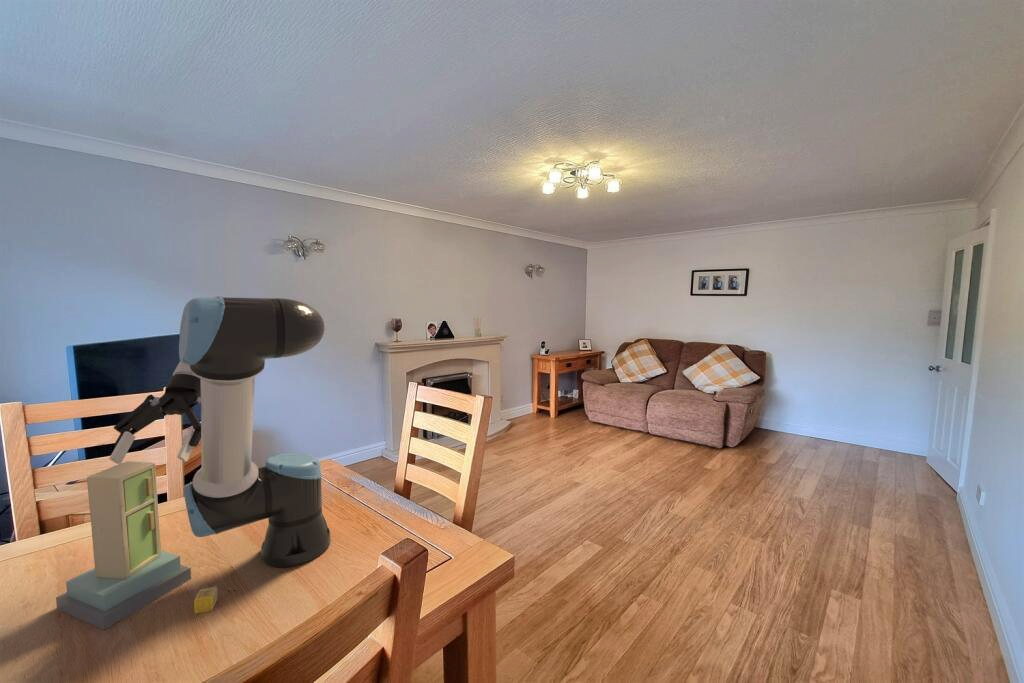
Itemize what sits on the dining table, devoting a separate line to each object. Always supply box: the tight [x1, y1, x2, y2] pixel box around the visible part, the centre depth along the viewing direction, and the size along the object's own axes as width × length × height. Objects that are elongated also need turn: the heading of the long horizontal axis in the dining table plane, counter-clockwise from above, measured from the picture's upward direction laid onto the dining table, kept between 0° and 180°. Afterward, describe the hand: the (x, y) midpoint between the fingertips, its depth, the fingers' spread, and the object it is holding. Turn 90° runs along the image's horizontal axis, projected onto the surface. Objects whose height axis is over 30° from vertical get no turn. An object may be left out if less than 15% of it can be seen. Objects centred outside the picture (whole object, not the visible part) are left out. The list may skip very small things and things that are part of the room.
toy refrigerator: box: [86, 461, 162, 579], centre depth 84 cm, size 8×7×21 cm
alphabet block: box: [193, 586, 218, 614], centre depth 81 cm, size 3×3×3 cm
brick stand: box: [55, 549, 192, 630], centre depth 84 cm, size 15×15×6 cm
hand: (148, 460), depth 90 cm, fingers open, 13 cm apart
